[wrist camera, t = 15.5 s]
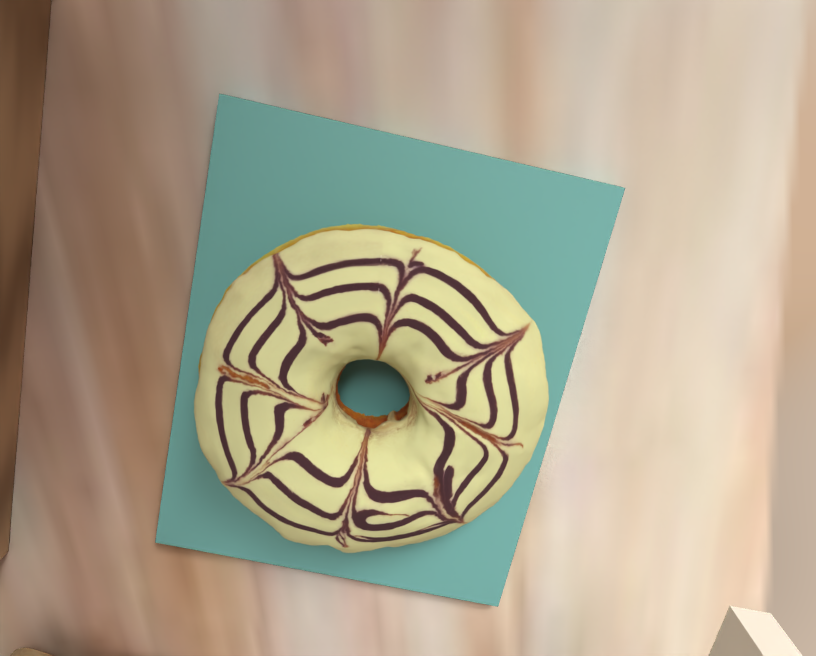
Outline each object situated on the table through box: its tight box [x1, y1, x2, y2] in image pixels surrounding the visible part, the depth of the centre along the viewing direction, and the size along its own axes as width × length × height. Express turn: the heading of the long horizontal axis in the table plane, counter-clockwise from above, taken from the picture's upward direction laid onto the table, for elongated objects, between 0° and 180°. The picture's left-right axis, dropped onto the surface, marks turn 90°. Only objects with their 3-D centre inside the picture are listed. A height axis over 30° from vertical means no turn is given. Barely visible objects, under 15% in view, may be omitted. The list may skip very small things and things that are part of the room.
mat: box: [155, 94, 625, 606], centre depth 24 cm, size 16×13×1 cm
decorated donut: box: [194, 224, 549, 553], centre depth 22 cm, size 10×11×4 cm
